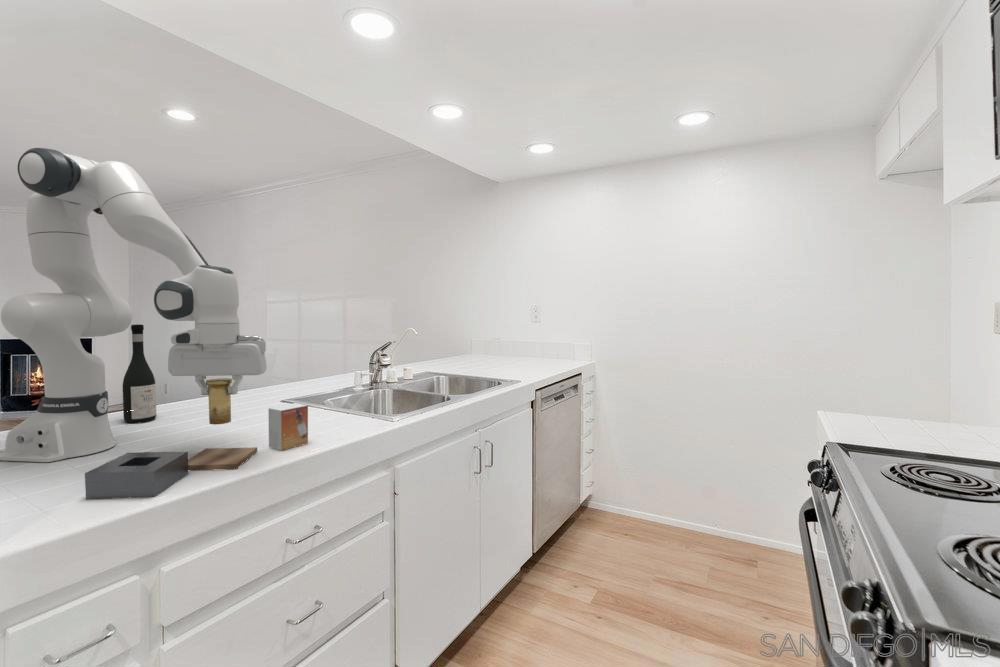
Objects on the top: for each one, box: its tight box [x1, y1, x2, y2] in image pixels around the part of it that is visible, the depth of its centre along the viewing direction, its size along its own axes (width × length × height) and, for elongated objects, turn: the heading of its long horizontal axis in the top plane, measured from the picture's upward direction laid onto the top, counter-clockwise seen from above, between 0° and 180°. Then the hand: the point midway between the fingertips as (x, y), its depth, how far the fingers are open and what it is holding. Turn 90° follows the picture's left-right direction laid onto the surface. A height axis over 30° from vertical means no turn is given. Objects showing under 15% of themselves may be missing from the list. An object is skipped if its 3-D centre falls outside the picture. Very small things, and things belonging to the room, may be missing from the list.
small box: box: [268, 402, 309, 451], centre depth 121 cm, size 8×6×10 cm
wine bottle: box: [122, 323, 157, 424], centre depth 142 cm, size 8×8×30 cm
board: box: [188, 446, 258, 471], centre depth 108 cm, size 12×12×1 cm
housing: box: [84, 450, 190, 500], centre depth 93 cm, size 12×12×5 cm
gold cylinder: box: [205, 377, 233, 426], centre depth 107 cm, size 5×5×10 cm
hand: (219, 394), depth 107 cm, fingers closed on gold cylinder, 4 cm apart
